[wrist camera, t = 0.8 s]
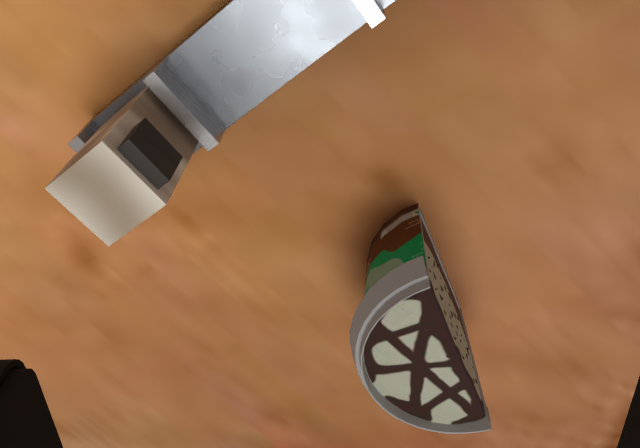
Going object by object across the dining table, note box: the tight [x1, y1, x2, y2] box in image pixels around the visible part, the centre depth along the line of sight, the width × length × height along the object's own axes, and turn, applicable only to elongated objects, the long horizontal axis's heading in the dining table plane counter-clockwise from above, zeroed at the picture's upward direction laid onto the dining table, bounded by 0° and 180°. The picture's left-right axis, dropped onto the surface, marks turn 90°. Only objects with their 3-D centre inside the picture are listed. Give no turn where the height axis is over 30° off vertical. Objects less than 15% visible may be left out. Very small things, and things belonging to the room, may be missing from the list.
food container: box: [350, 204, 492, 434], centre depth 38 cm, size 12×6×10 cm, turn 24°
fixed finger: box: [45, 86, 199, 246], centre depth 32 cm, size 5×4×8 cm
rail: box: [68, 0, 395, 153], centre depth 32 cm, size 25×5×4 cm, turn 128°
